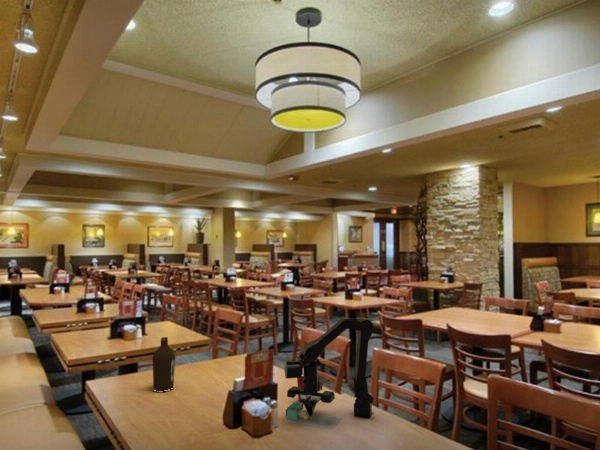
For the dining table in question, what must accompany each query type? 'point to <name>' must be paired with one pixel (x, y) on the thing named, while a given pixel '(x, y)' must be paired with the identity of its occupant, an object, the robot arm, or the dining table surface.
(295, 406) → the teal faceted block
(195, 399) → the dining table surface
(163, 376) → the olive oil
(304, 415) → the long wooden beam
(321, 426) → the mat
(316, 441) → the dining table surface
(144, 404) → the dining table surface
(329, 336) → the robot arm
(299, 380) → the paper cup
